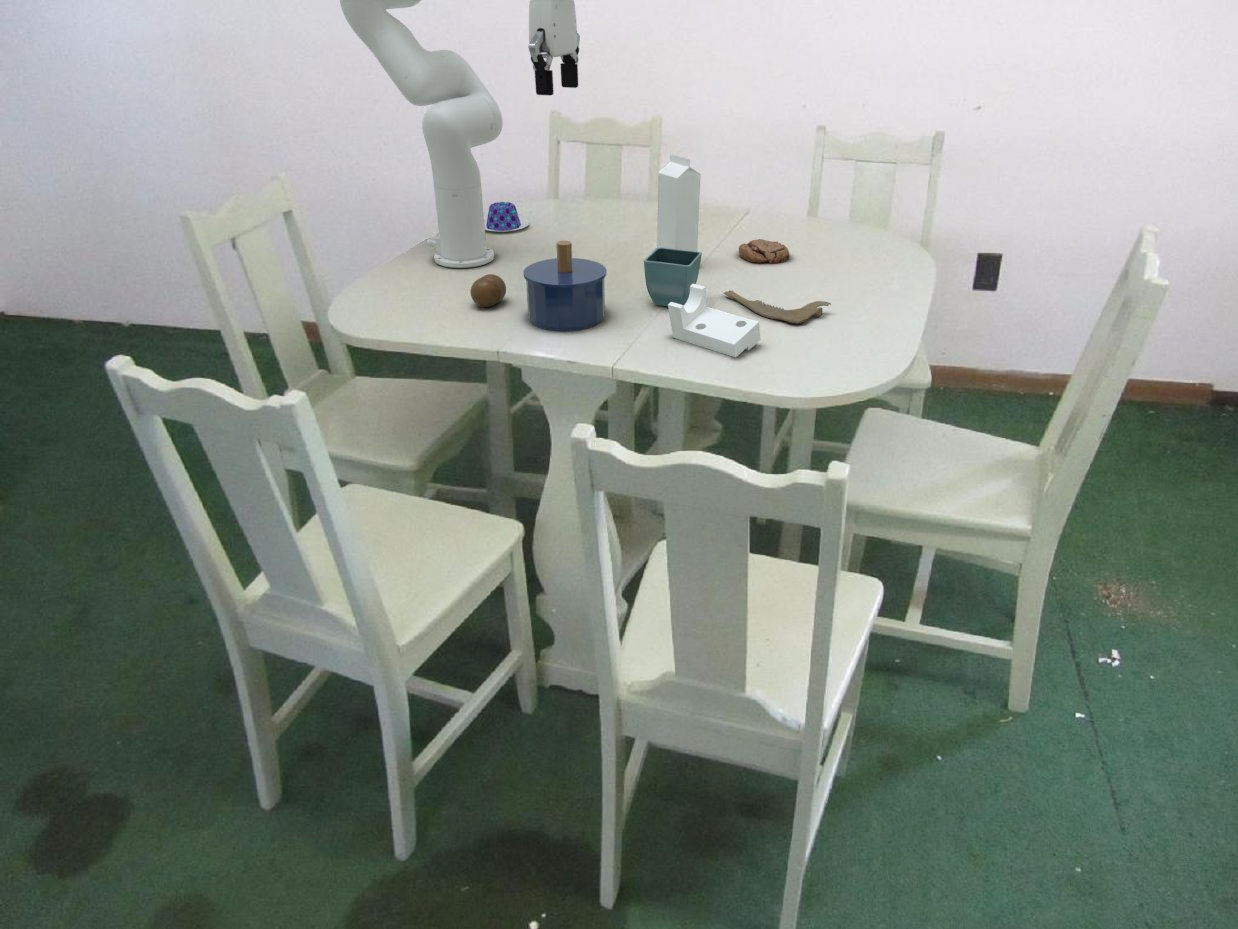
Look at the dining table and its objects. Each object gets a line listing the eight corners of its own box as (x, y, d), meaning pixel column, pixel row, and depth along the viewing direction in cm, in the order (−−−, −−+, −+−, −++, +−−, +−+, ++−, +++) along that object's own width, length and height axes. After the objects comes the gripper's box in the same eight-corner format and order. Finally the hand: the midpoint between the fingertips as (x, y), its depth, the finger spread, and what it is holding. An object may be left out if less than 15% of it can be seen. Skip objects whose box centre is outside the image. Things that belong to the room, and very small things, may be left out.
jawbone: (816, 332, 158) (816, 321, 157) (706, 314, 166) (706, 304, 165) (830, 311, 164) (831, 300, 163) (724, 295, 173) (724, 285, 171)
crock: (513, 323, 161) (511, 279, 157) (553, 299, 171) (552, 257, 167) (580, 336, 155) (579, 292, 151) (617, 310, 166) (617, 268, 162)
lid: (507, 283, 157) (505, 248, 154) (550, 259, 168) (549, 226, 165) (581, 296, 151) (580, 260, 148) (621, 271, 162) (620, 237, 159)
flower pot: (700, 297, 172) (702, 251, 167) (688, 313, 164) (690, 265, 160) (656, 292, 174) (657, 246, 169) (642, 308, 167) (642, 260, 162)
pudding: (512, 236, 206) (510, 213, 203) (467, 230, 210) (465, 207, 208) (538, 223, 215) (537, 201, 213) (495, 217, 220) (493, 195, 217)
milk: (674, 273, 184) (677, 161, 173) (656, 265, 188) (657, 155, 177) (697, 267, 187) (701, 156, 176) (678, 259, 191) (681, 151, 180)
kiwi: (490, 313, 165) (488, 284, 162) (466, 308, 167) (463, 280, 164) (514, 299, 171) (512, 271, 168) (490, 295, 173) (488, 267, 170)
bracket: (673, 341, 156) (667, 304, 151) (698, 320, 159) (693, 283, 154) (736, 362, 148) (732, 323, 143) (760, 339, 152) (757, 301, 147)
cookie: (791, 264, 188) (792, 250, 187) (740, 264, 189) (741, 249, 187) (785, 249, 197) (787, 236, 195) (736, 249, 197) (737, 235, 196)
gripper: (556, -20, 162) (561, 83, 170) (507, -15, 148) (515, 97, 157) (594, -20, 159) (597, 85, 168) (548, -15, 146) (554, 98, 154)
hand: (557, 90), depth 162 cm, fingers open, 9 cm apart
